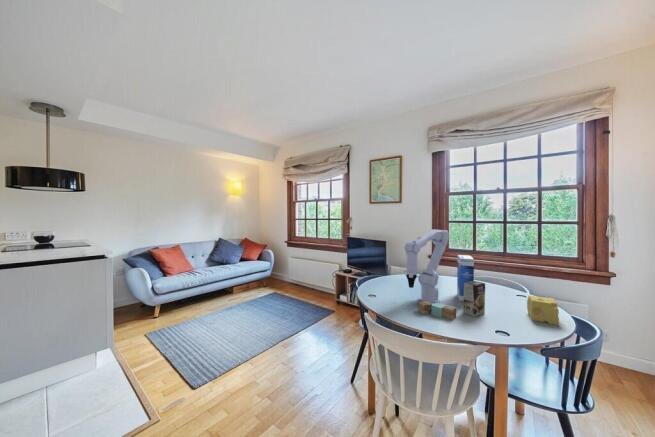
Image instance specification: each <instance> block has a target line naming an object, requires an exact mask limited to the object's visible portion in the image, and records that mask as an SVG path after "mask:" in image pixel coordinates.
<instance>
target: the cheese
mask: <svg viewBox="0 0 655 437" xmlns="http://www.w3.org/2000/svg"><path fill="white" fill-rule="evenodd" d="M526 308H527V313H528V316H529V318H530V320H531V321H535V322H541V323H544V322H545V323H548V324H550V325H556V326H559V324H560V317H559V313H560V312H559V306H558V303H557V301H556V300H555V298H553V297H545V296H543V297H542V296H536V295H530V294H529V295H528V297H527V300H526Z"/></svg>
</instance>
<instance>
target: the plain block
mask: <svg viewBox="0 0 655 437" xmlns="http://www.w3.org/2000/svg"><path fill="white" fill-rule="evenodd" d="M445 305H446V304H441V303H439V302H433V304H432V306H431V314H430V315H431V316H434V317H437V318H443V317H442V307H444V306H445Z"/></svg>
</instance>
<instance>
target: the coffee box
mask: <svg viewBox="0 0 655 437" xmlns="http://www.w3.org/2000/svg"><path fill="white" fill-rule="evenodd" d="M462 302H463V303H462V305H463V307H462V313H464V314H466V315H469V316H472V317H478V316H481V315H484V314H486V313H485V312H486V310H485V308H486V307H485V306H486V283H485V282H481V281H476V280H474V281H470V282H465V283H464V300H463V301H462Z"/></svg>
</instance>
